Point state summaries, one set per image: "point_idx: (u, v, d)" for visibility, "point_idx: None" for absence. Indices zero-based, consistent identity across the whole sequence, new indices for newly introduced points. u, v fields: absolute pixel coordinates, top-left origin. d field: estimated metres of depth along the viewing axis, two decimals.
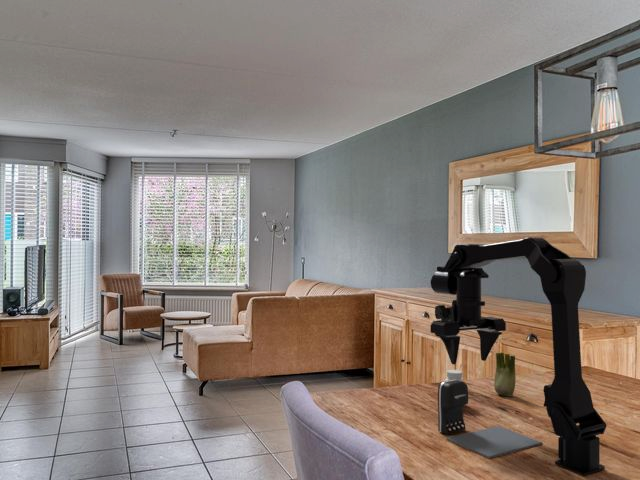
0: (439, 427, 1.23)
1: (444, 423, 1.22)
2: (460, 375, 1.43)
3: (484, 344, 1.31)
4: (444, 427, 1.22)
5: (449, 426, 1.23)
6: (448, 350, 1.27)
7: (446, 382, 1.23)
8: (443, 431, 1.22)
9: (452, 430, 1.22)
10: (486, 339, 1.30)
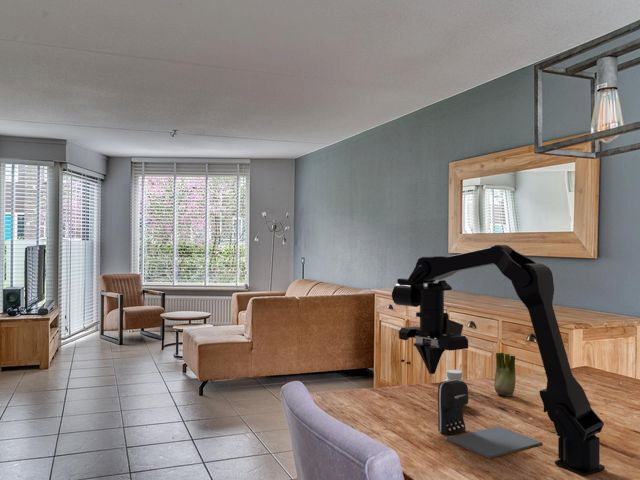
0: (439, 427, 1.23)
1: (444, 423, 1.22)
2: (460, 375, 1.43)
3: None
4: (444, 427, 1.22)
5: (449, 426, 1.23)
6: None
7: (446, 382, 1.23)
8: (443, 431, 1.22)
9: (452, 430, 1.22)
10: None
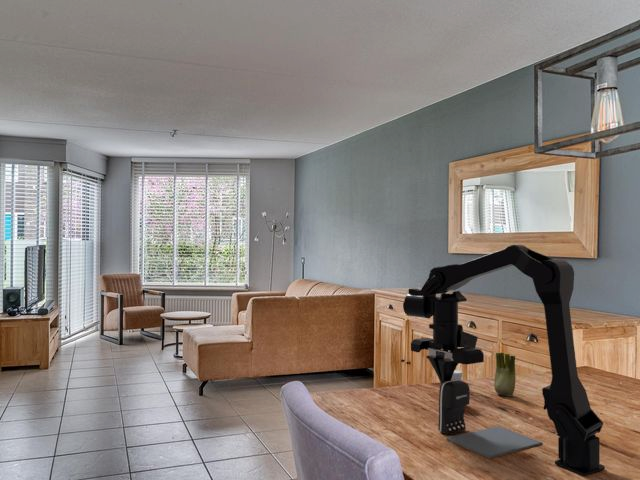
0: (439, 426, 1.23)
1: (444, 423, 1.22)
2: (460, 375, 1.43)
3: None
4: (444, 427, 1.22)
5: (449, 426, 1.23)
6: None
7: (448, 382, 1.23)
8: (443, 431, 1.22)
9: (452, 430, 1.22)
10: None
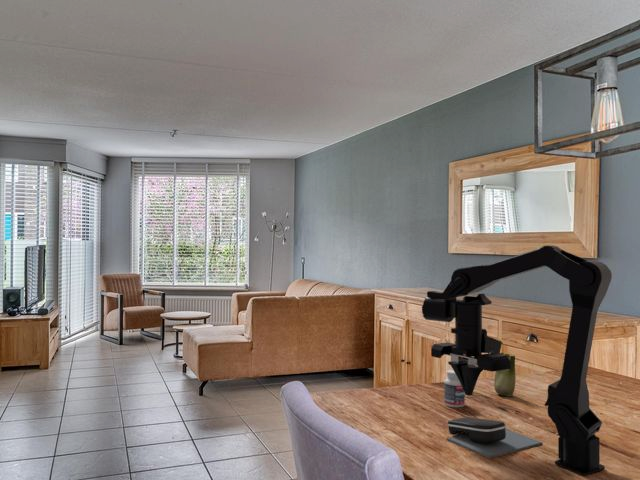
0: (450, 423, 1.20)
1: (456, 430, 1.19)
2: None
3: None
4: (453, 430, 1.20)
5: (457, 429, 1.21)
6: None
7: (492, 431, 1.13)
8: (449, 429, 1.21)
9: (456, 432, 1.21)
10: None
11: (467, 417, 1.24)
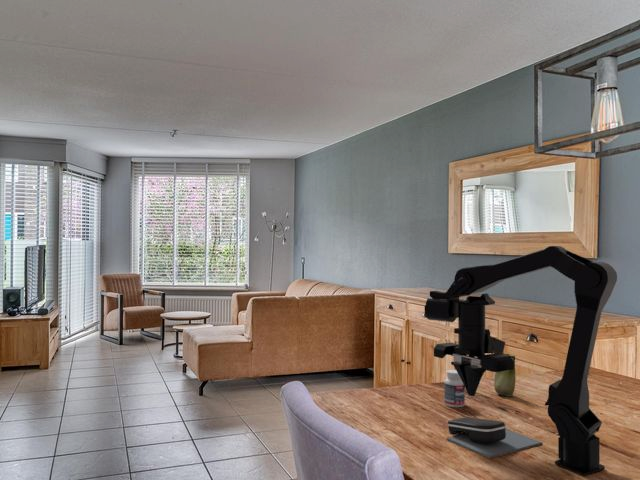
0: (450, 423, 1.20)
1: (456, 430, 1.19)
2: None
3: None
4: (453, 430, 1.20)
5: (457, 429, 1.21)
6: None
7: (492, 431, 1.13)
8: (449, 429, 1.21)
9: (456, 432, 1.21)
10: None
11: (467, 417, 1.24)
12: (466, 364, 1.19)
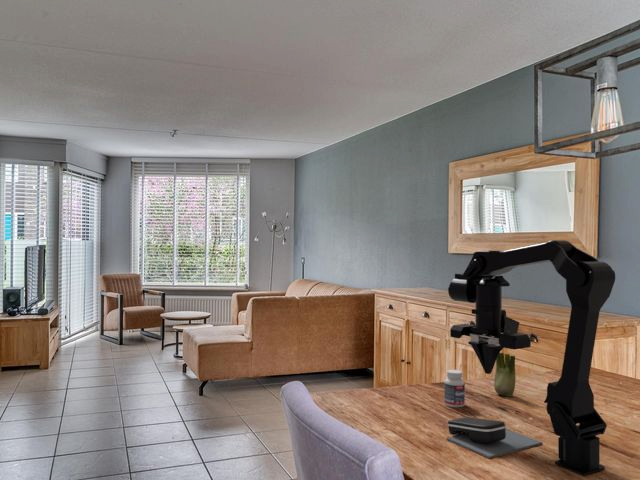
0: (450, 423, 1.20)
1: (456, 430, 1.19)
2: (460, 375, 1.43)
3: None
4: (453, 430, 1.20)
5: (457, 429, 1.21)
6: None
7: (492, 431, 1.13)
8: (449, 429, 1.21)
9: (456, 432, 1.21)
10: None
11: (467, 417, 1.24)
12: (483, 343, 1.24)
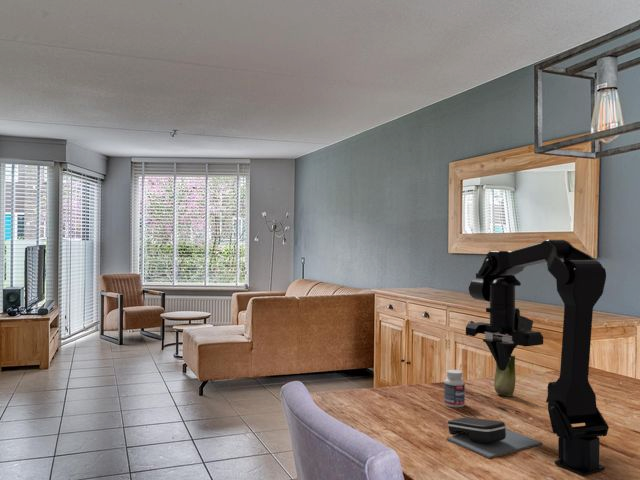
0: (450, 423, 1.20)
1: (456, 430, 1.19)
2: (460, 375, 1.43)
3: None
4: (453, 430, 1.20)
5: (457, 429, 1.21)
6: None
7: (492, 431, 1.13)
8: (449, 429, 1.21)
9: (456, 432, 1.21)
10: None
11: (467, 417, 1.24)
12: (497, 341, 1.28)
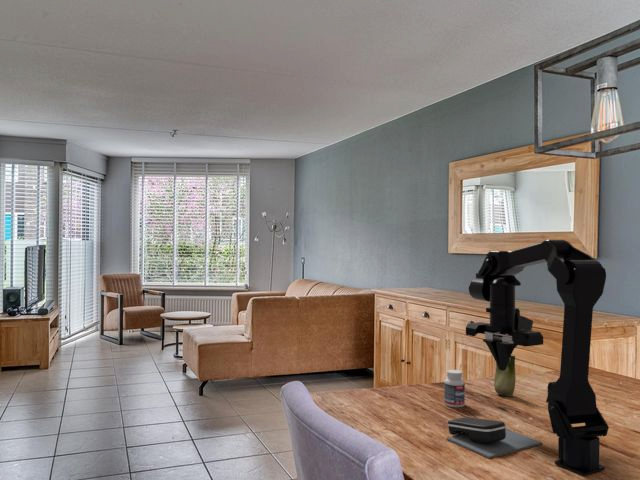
0: (450, 423, 1.20)
1: (456, 430, 1.19)
2: (460, 375, 1.43)
3: None
4: (453, 430, 1.20)
5: (457, 429, 1.21)
6: None
7: (492, 431, 1.13)
8: (449, 429, 1.21)
9: (456, 432, 1.21)
10: None
11: (467, 417, 1.24)
12: (497, 341, 1.28)
